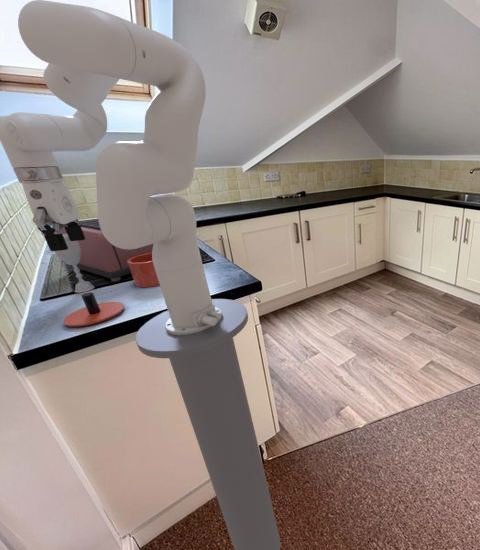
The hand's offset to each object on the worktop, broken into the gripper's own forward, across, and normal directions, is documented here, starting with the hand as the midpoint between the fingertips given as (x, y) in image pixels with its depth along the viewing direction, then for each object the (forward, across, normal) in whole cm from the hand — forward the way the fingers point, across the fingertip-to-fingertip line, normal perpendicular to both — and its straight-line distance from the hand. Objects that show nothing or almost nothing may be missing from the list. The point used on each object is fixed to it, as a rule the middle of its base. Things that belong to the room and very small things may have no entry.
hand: (69, 245), depth 77 cm
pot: (+19, +18, -11) cm, 29 cm away
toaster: (+20, +46, -1) cm, 50 cm away
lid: (+19, -4, -1) cm, 19 cm away
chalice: (+20, +20, +10) cm, 30 cm away
